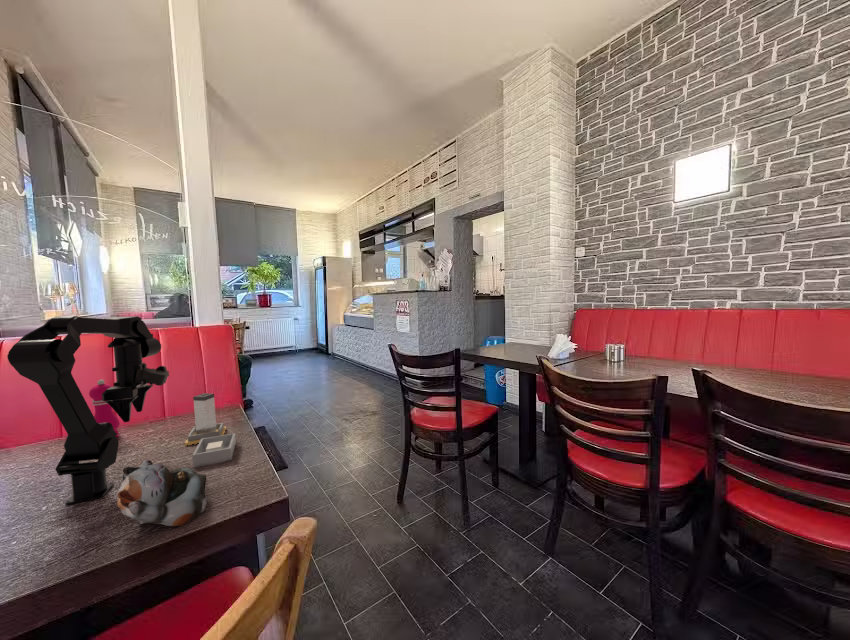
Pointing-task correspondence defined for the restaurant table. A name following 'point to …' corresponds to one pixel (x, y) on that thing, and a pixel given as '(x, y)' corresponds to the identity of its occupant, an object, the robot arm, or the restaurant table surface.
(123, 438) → the restaurant table surface
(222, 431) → the square tray
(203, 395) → the grey rectangular block
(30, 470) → the restaurant table surface
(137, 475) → the lucky cat figurine
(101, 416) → the pepper mill
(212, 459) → the light gray open tray
